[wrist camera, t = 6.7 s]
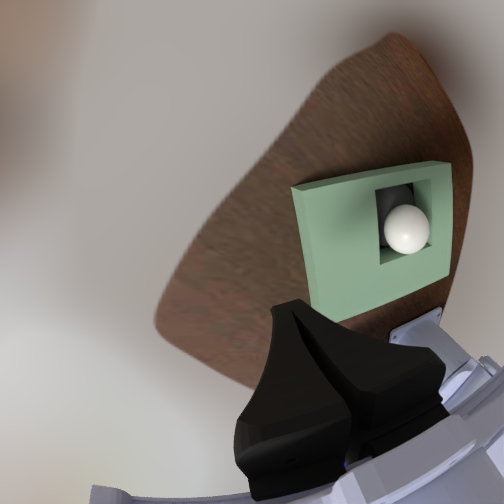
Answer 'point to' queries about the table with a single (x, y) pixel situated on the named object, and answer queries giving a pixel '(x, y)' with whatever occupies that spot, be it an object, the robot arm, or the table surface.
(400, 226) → the ball
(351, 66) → the table surface
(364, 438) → the robot arm
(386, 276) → the green
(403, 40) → the table surface
